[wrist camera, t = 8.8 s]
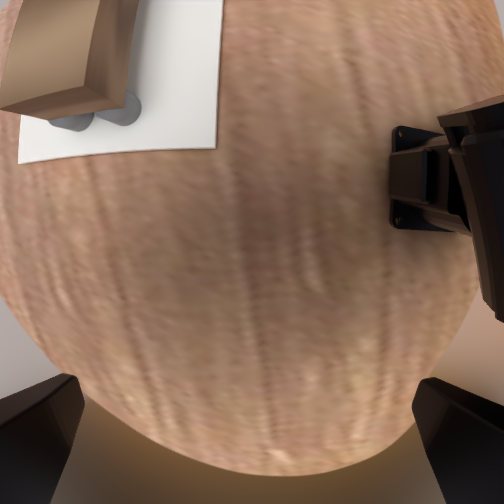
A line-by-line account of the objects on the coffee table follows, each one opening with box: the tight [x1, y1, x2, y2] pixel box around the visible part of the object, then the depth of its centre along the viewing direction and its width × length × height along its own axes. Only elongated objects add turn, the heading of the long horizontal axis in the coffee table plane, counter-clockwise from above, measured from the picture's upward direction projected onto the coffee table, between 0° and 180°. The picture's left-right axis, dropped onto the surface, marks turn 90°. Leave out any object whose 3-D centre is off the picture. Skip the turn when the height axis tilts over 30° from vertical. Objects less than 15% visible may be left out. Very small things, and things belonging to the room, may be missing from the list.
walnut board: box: [0, 0, 139, 121], centre depth 10 cm, size 12×5×4 cm, turn 179°
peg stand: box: [18, 0, 224, 164], centre depth 14 cm, size 14×16×3 cm
